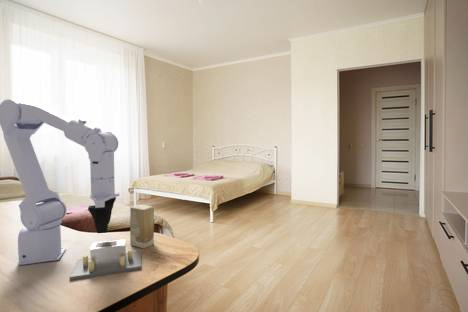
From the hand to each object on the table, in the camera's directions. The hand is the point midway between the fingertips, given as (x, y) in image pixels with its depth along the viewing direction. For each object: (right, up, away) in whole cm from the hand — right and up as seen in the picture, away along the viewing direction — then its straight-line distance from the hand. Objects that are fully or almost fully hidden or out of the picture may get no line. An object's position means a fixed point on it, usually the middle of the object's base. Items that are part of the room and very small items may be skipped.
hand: (103, 227), depth 73 cm
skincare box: (+6, -9, +13) cm, 17 cm away
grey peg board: (+2, -10, -2) cm, 10 cm away
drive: (+2, -9, -2) cm, 9 cm away
